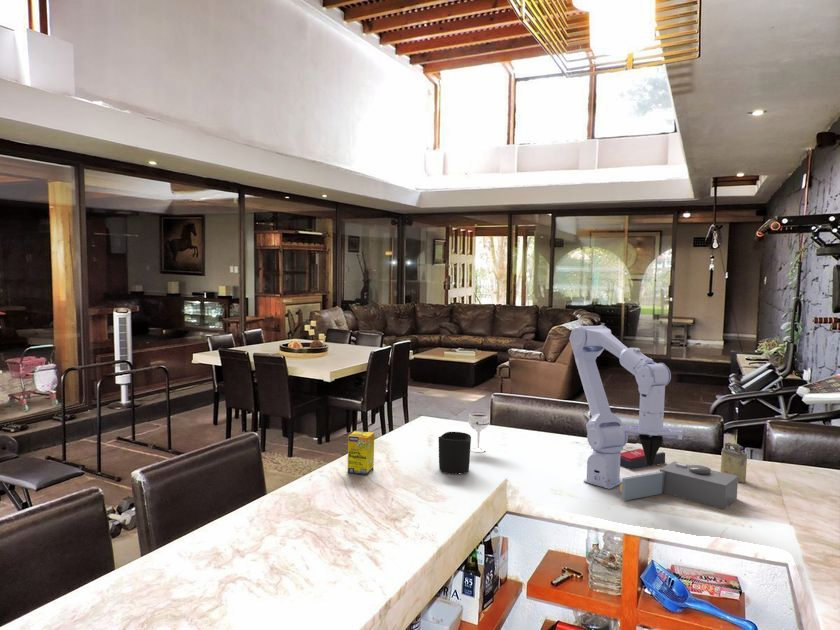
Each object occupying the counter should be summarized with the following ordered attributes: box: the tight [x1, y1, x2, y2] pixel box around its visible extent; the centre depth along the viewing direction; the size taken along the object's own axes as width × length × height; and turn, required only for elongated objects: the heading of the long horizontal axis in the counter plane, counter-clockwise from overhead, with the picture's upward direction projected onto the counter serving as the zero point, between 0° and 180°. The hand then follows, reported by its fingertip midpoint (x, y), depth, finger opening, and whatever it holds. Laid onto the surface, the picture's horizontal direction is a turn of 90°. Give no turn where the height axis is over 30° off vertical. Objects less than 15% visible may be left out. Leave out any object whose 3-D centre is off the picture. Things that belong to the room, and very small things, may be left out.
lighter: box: [719, 442, 748, 484], centre depth 161 cm, size 7×4×10 cm, turn 28°
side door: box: [619, 470, 665, 501], centre depth 146 cm, size 2×14×6 cm, turn 115°
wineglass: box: [468, 411, 490, 451], centre depth 184 cm, size 7×7×12 cm
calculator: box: [620, 442, 666, 470], centre depth 176 cm, size 11×4×15 cm
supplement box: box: [347, 430, 375, 476], centre depth 161 cm, size 6×6×11 cm
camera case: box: [659, 461, 739, 510], centre depth 148 cm, size 10×16×7 cm, turn 46°
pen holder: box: [438, 431, 472, 475], centre depth 165 cm, size 9×9×10 cm
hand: (649, 464), depth 143 cm, fingers closed
